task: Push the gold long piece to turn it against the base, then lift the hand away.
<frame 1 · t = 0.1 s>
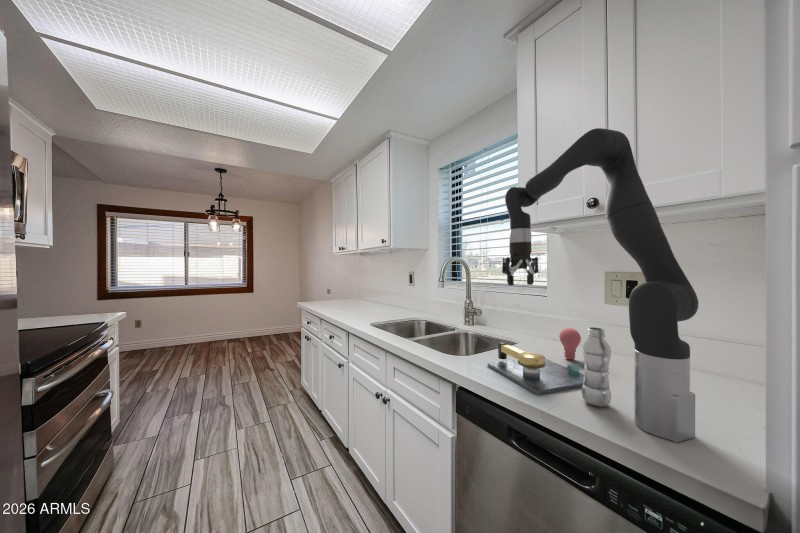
hand: (520, 285, 107), 29 cm above the worktop, tool pointing down, fingers open, 8 cm apart
light bulb: (570, 359, 111), on the worktop
gold long piece: (518, 357, 98), point 5 cm above the worktop, hinge at 0.0°
plastic bottle: (596, 404, 76), on the worktop
base: (538, 374, 97), on the worktop
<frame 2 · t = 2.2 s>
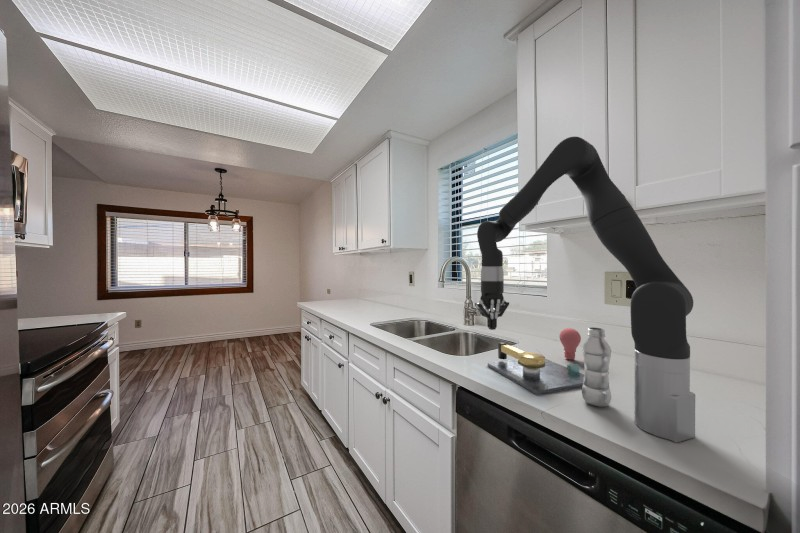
hand: (492, 329, 100), 15 cm above the worktop, tool pointing down, fingers closed
nothing on the worktop moved.
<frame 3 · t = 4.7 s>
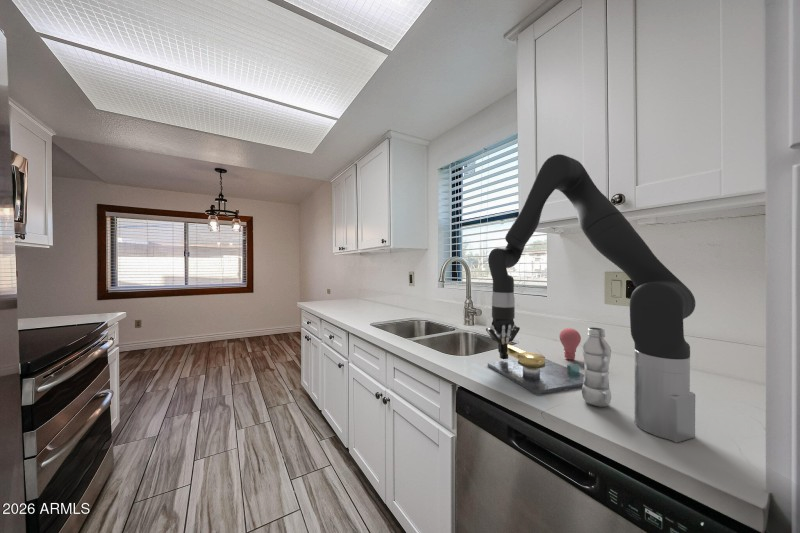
hand: (502, 353, 101), 6 cm above the worktop, tool pointing down, fingers closed
gold long piece: (518, 357, 98), point 5 cm above the worktop, hinge at 2.6°, touching gripper
everything else where it was.
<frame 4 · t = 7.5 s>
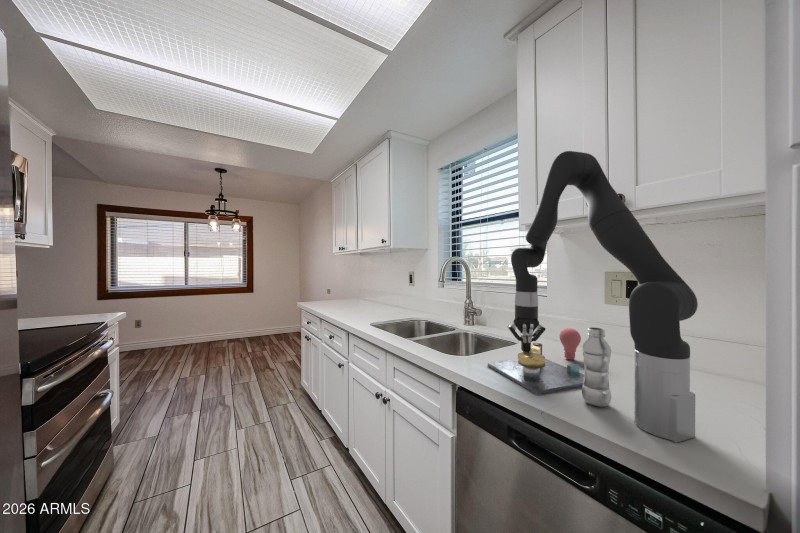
hand: (525, 352, 103), 6 cm above the worktop, tool pointing down, fingers closed
gold long piece: (534, 358, 97), point 5 cm above the worktop, hinge at 50.1°, touching gripper
everything else where it was.
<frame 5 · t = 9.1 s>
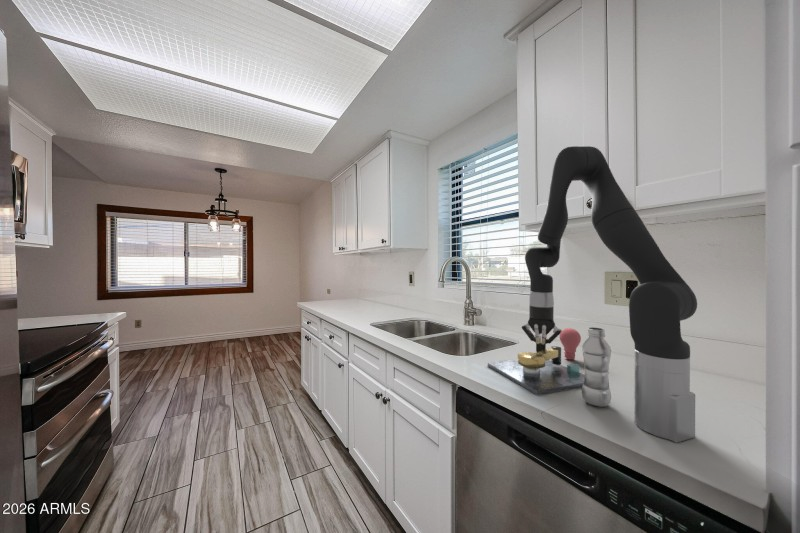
hand: (540, 353, 101), 6 cm above the worktop, tool pointing down, fingers closed
gold long piece: (542, 360, 95), point 5 cm above the worktop, hinge at 74.7°, touching gripper
everything else where it was.
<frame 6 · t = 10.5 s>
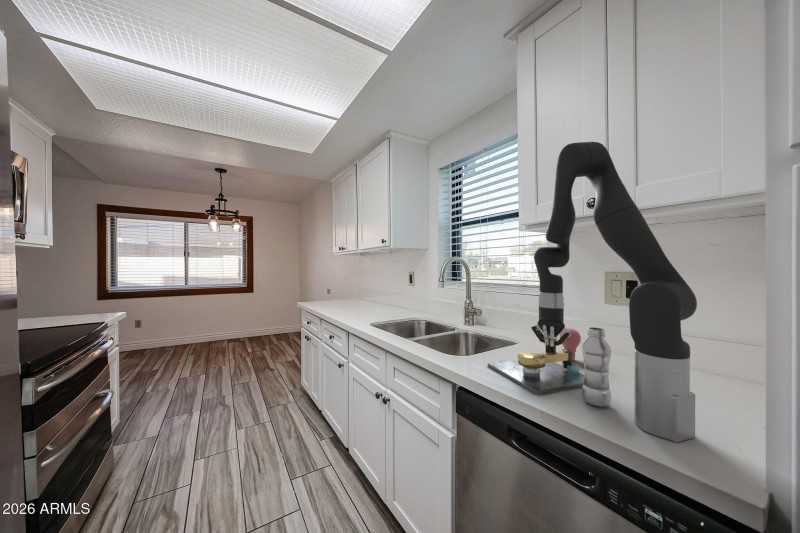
hand: (550, 356, 98), 6 cm above the worktop, tool pointing down, fingers closed
gold long piece: (546, 361, 94), point 5 cm above the worktop, hinge at 90.9°, touching gripper
everything else where it was.
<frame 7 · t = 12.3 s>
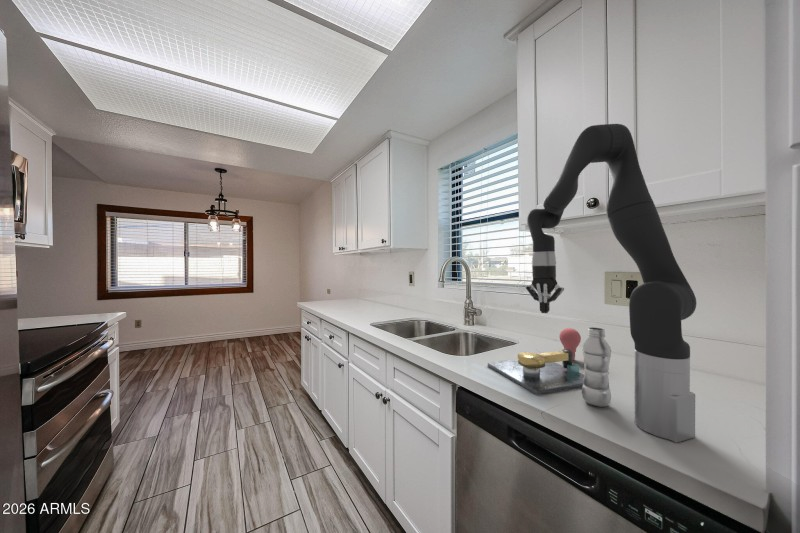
hand: (544, 312, 103), 19 cm above the worktop, tool pointing down, fingers closed
gold long piece: (546, 361, 94), point 5 cm above the worktop, hinge at 91.2°, touching base
everything else where it was.
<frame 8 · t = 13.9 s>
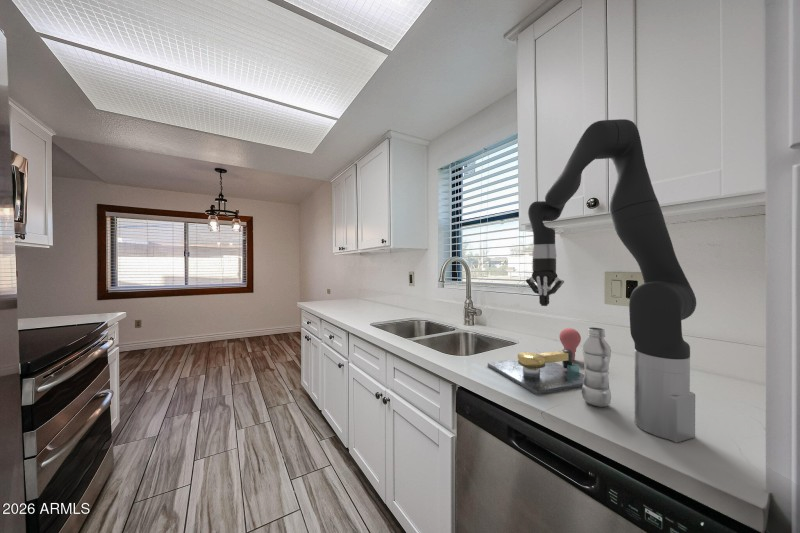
hand: (544, 305, 103), 22 cm above the worktop, tool pointing down, fingers closed
nothing on the worktop moved.
at the end: gold long piece at +91° (first picture: +0°); the gripper is holding nothing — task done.
